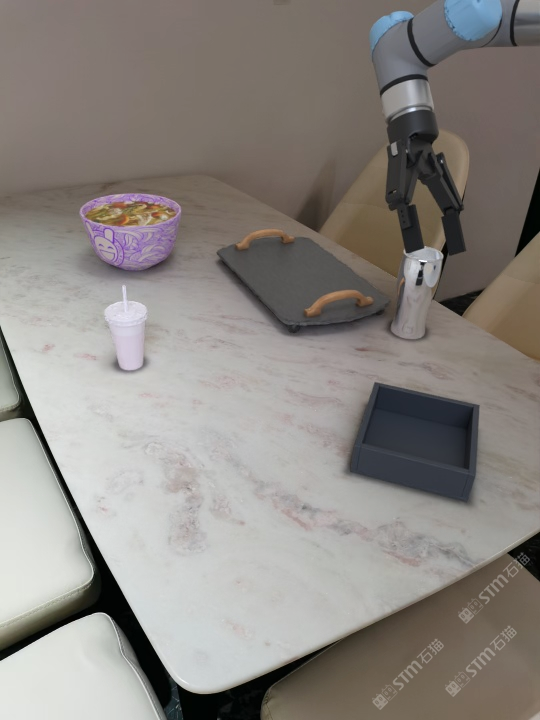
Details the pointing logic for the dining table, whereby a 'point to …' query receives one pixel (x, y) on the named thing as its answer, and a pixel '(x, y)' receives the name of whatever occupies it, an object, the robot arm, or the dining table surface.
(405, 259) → the beer glass
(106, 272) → the dining table surface
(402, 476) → the slate grey square tray
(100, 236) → the bowl of food
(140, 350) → the smoothie
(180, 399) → the dining table surface
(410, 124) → the robot arm
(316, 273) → the serving tray
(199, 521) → the dining table surface
